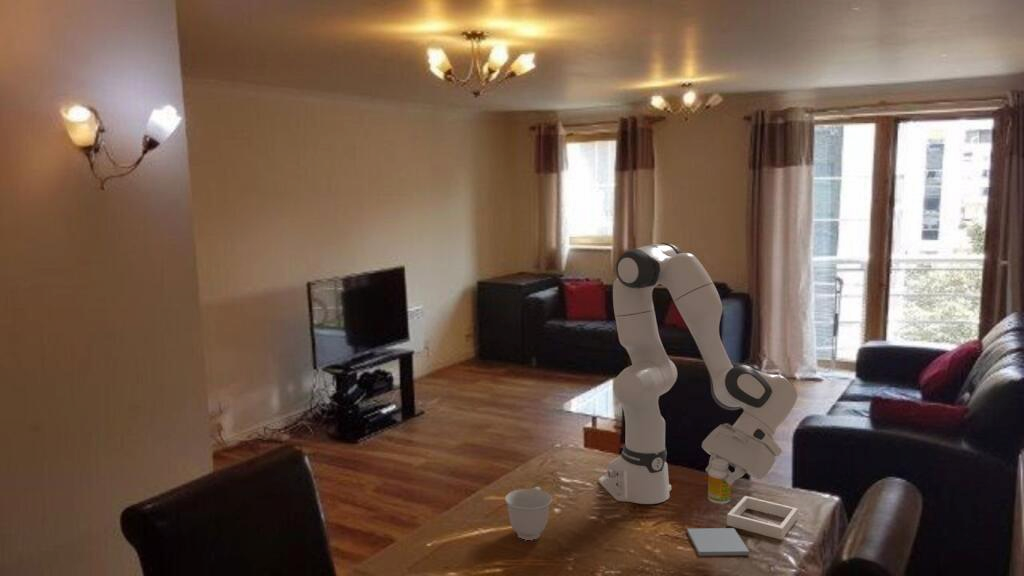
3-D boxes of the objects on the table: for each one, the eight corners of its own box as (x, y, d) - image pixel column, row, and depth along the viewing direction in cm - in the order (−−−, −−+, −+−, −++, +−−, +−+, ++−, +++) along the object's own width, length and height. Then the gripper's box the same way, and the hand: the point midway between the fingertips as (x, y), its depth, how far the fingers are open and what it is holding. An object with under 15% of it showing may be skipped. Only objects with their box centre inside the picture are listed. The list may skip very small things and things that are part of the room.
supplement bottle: (723, 506, 179) (724, 467, 177) (703, 499, 183) (704, 461, 181) (734, 499, 182) (735, 461, 181) (715, 493, 186) (716, 455, 185)
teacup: (560, 523, 195) (561, 487, 194) (544, 550, 181) (544, 511, 180) (517, 517, 199) (517, 481, 198) (498, 542, 185) (497, 504, 184)
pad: (687, 532, 190) (687, 528, 190) (733, 531, 190) (734, 528, 190) (699, 555, 178) (699, 551, 178) (749, 555, 178) (749, 551, 178)
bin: (726, 525, 194) (727, 514, 193) (744, 506, 205) (745, 495, 205) (781, 539, 186) (782, 528, 185) (797, 519, 197) (797, 508, 197)
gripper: (716, 414, 192) (684, 456, 190) (773, 438, 174) (738, 485, 171) (729, 428, 195) (698, 470, 192) (787, 454, 176) (753, 500, 174)
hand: (717, 477), depth 181 cm, fingers closed on supplement bottle, 5 cm apart
